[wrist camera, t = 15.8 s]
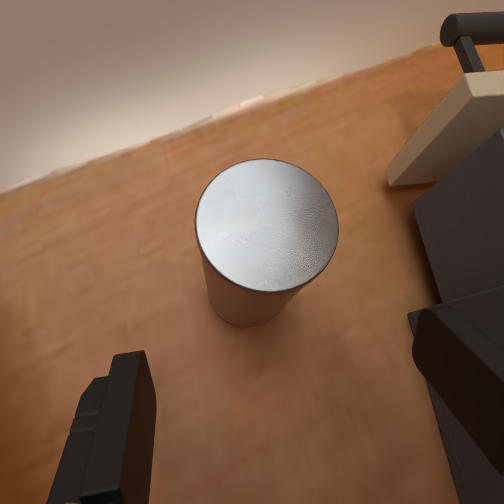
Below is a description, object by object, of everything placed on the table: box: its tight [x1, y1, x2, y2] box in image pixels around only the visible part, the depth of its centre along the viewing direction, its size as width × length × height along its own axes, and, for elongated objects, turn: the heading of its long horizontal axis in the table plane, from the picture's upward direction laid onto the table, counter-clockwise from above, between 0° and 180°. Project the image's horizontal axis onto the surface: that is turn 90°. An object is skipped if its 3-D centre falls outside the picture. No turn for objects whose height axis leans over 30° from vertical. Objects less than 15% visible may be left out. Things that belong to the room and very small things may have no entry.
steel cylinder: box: [195, 159, 339, 327], centre depth 15 cm, size 4×4×10 cm
